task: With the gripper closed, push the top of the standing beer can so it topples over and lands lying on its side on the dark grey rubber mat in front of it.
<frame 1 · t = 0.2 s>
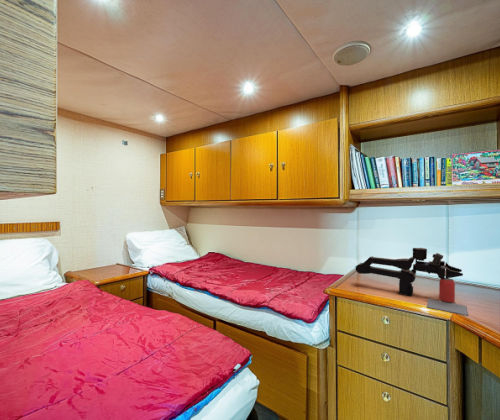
hand: (462, 272, 133), 17 cm above the table, tool horizontal, fingers open, 9 cm apart
beer can: (446, 301, 136), on the table, touching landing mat
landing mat: (446, 307, 129), on the table
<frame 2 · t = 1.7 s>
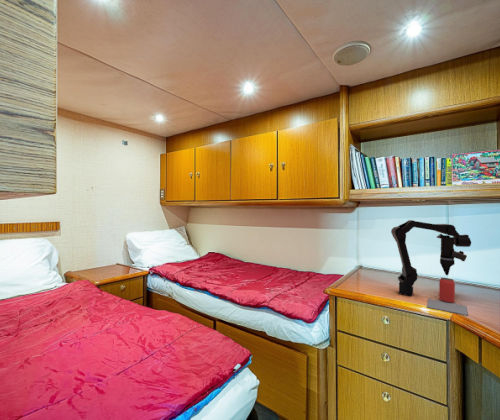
hand: (446, 273, 143), 13 cm above the table, tool pointing down, fingers open, 6 cm apart
nothing on the table moved.
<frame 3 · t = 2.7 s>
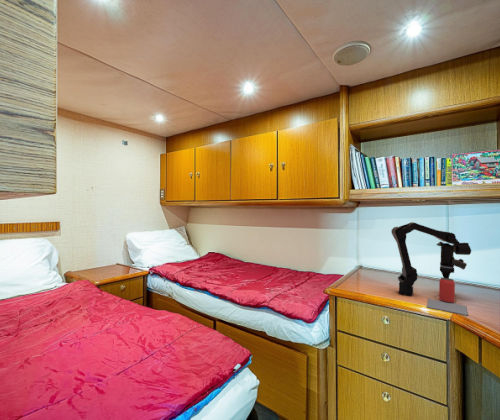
hand: (446, 281, 144), 9 cm above the table, tool pointing down, fingers closed
nothing on the table moved.
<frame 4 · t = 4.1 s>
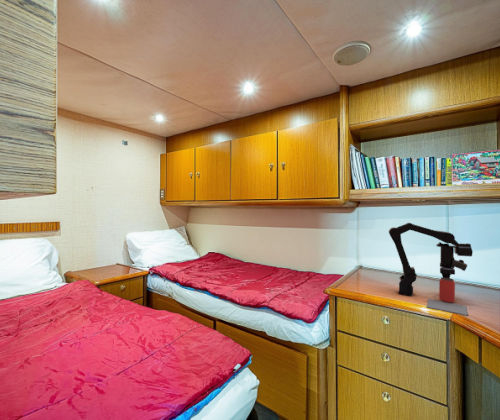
hand: (446, 283, 139), 9 cm above the table, tool pointing down, fingers closed
beer can: (446, 301, 136), on the table, touching gripper, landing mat
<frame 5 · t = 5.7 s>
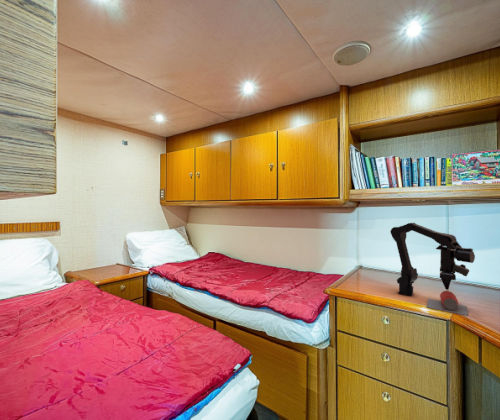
hand: (447, 289, 130), 9 cm above the table, tool pointing down, fingers closed
beer can: (447, 296, 133), point 4 cm above the table, touching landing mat
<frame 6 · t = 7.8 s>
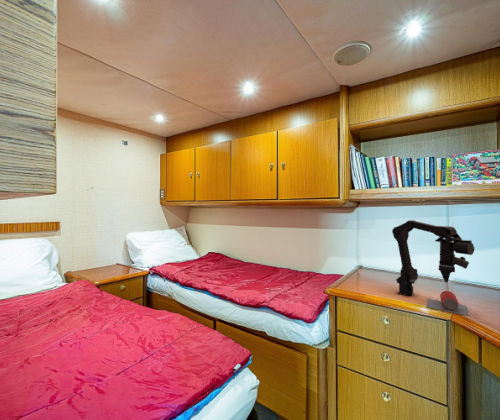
hand: (446, 282, 128), 13 cm above the table, tool pointing down, fingers closed
nothing on the table moved.
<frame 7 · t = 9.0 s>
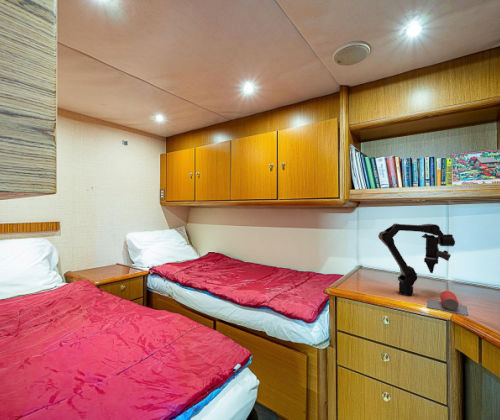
hand: (431, 272, 145), 13 cm above the table, tool pointing down, fingers closed
nothing on the table moved.
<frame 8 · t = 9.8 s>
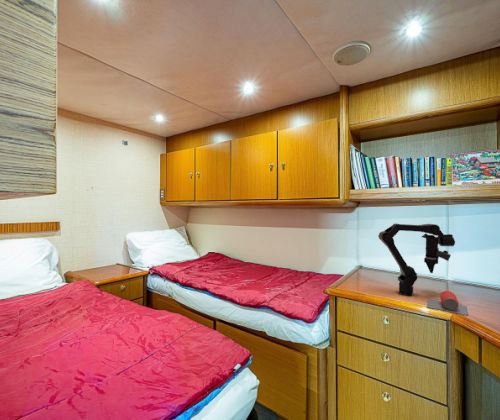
hand: (431, 272, 145), 13 cm above the table, tool pointing down, fingers closed
nothing on the table moved.
at the end: beer can tilted 90°; beer can touching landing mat; beer can inside the target area (5.9 cm from its centre), point 3.8 cm above the table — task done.
